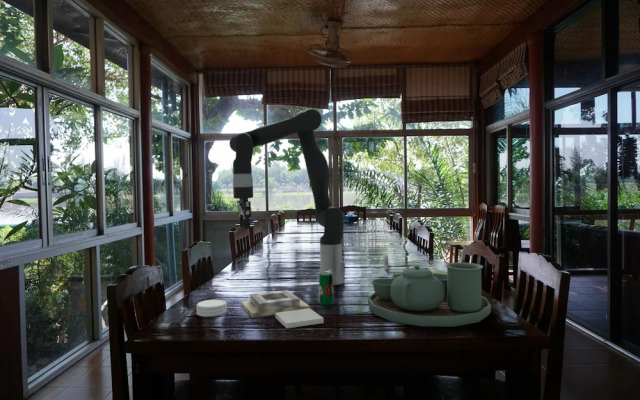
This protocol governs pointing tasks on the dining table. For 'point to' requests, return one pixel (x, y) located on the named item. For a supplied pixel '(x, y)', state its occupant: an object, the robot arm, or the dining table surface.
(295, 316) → the tile
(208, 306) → the white ribbed disc
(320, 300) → the soda can
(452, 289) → the tea set
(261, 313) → the socket board
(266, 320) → the dining table surface
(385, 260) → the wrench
